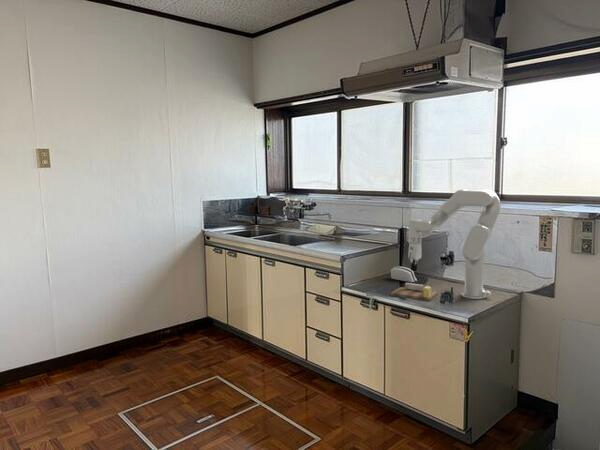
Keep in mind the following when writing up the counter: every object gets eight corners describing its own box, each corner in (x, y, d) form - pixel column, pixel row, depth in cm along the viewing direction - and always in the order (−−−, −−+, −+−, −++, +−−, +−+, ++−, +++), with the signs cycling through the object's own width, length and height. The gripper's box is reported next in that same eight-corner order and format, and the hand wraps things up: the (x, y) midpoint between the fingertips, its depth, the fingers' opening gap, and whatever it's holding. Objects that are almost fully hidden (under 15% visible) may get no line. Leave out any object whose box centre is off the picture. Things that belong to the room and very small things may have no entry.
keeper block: (431, 295, 254) (431, 286, 254) (428, 297, 251) (428, 288, 250) (425, 294, 256) (425, 286, 255) (423, 296, 253) (423, 288, 252)
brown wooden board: (438, 294, 260) (438, 292, 260) (430, 301, 249) (430, 298, 249) (400, 289, 273) (400, 287, 273) (391, 295, 262) (390, 292, 262)
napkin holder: (417, 281, 291) (414, 267, 287) (413, 285, 288) (410, 271, 284) (395, 276, 303) (392, 263, 299) (391, 280, 300) (388, 267, 296)
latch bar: (429, 290, 262) (429, 285, 262) (427, 292, 260) (427, 286, 259) (406, 287, 270) (407, 282, 270) (404, 289, 268) (404, 283, 267)
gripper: (416, 243, 261) (415, 274, 264) (425, 238, 273) (424, 268, 276) (404, 241, 265) (403, 272, 268) (413, 237, 277) (412, 267, 280)
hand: (414, 270), depth 272 cm, fingers closed
